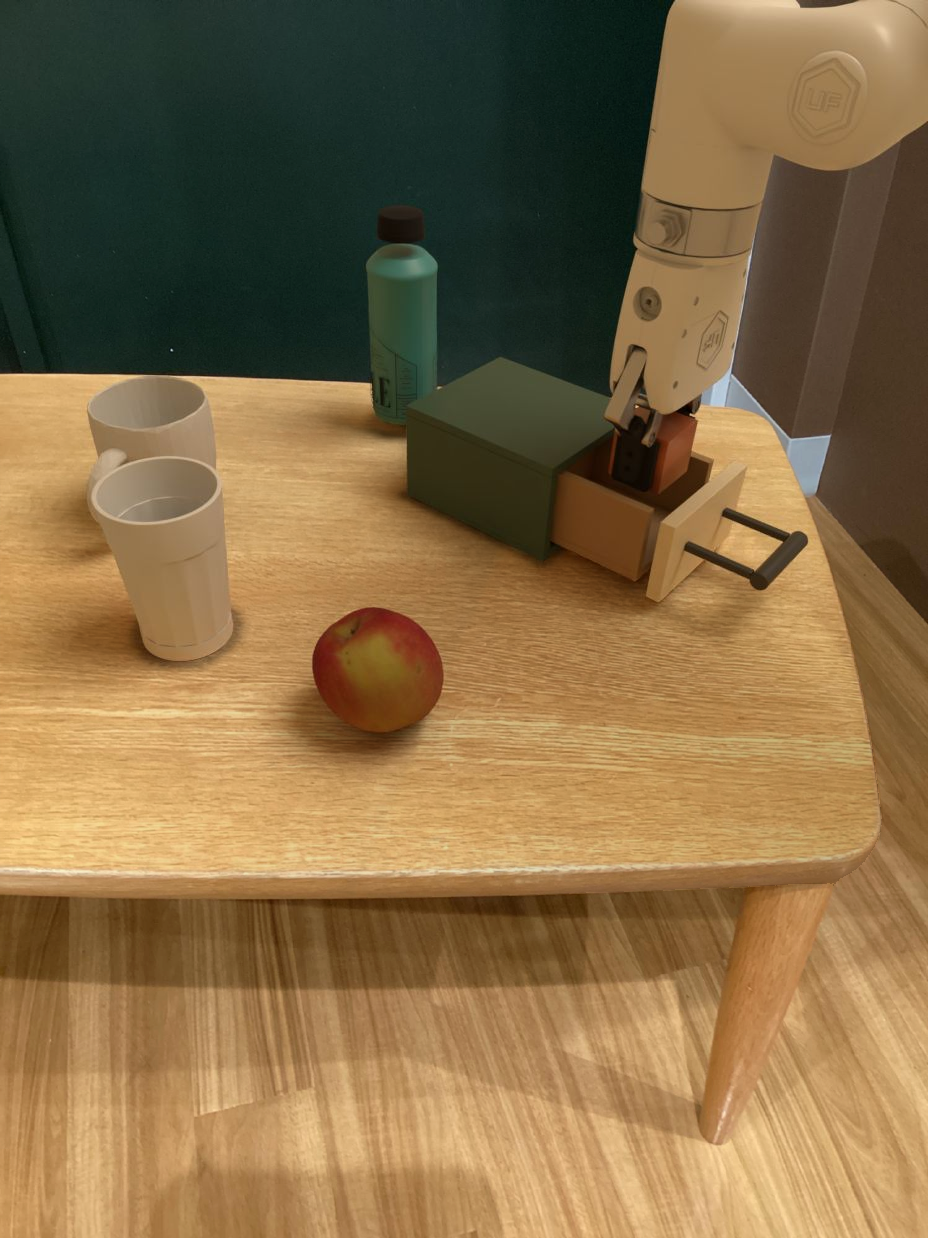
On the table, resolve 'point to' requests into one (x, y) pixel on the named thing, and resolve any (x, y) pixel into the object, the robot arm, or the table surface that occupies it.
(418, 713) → the apple
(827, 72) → the robot arm
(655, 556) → the drawer
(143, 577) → the cup
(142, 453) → the mug
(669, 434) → the block
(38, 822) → the table surface
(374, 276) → the beverage bottle
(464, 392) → the cabinet
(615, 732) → the table surface
